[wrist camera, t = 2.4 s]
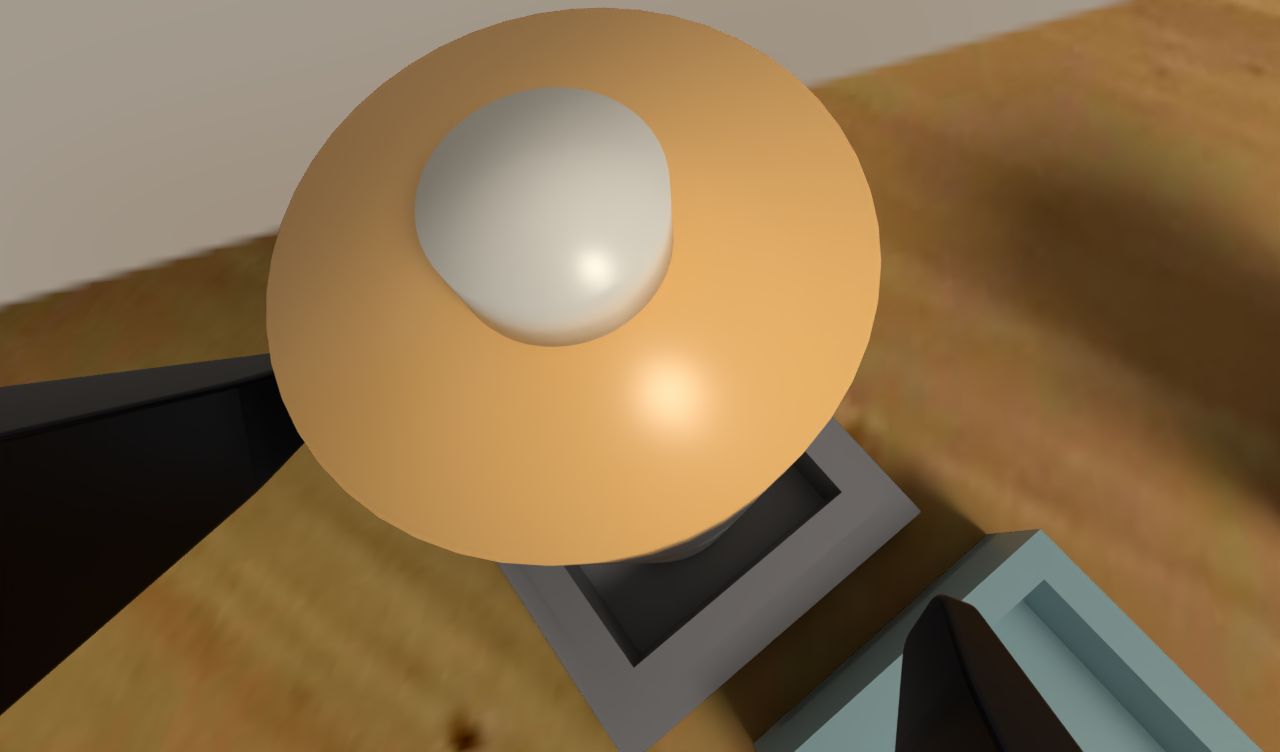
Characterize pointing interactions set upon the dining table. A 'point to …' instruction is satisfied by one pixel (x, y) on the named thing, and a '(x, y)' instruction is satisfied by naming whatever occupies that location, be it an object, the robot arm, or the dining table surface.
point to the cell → (574, 288)
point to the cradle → (712, 592)
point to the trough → (1025, 663)
